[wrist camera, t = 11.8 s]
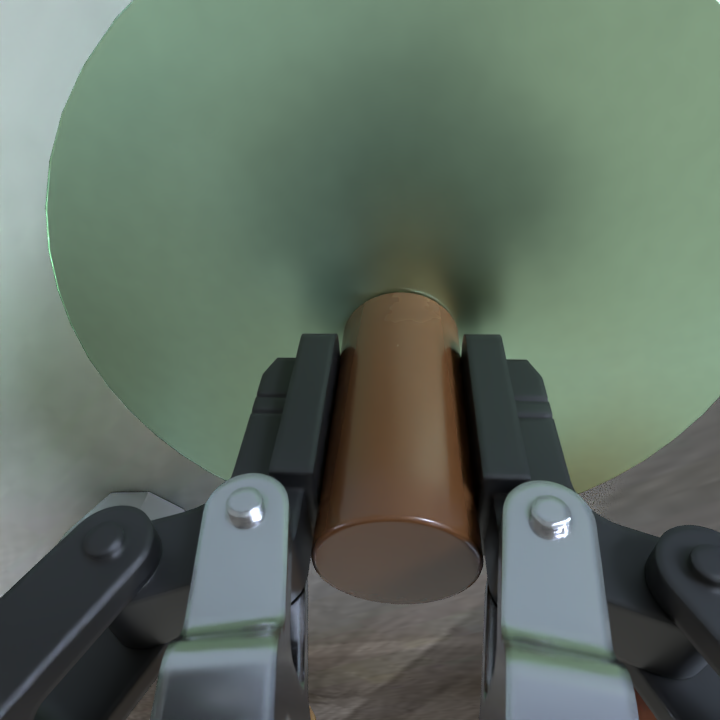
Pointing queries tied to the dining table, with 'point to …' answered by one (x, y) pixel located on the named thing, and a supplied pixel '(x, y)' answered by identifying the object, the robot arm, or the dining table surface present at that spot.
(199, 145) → the pot lid
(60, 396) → the dining table surface
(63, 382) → the dining table surface
